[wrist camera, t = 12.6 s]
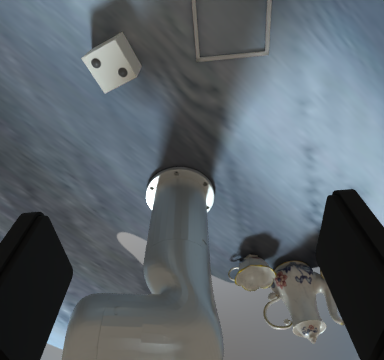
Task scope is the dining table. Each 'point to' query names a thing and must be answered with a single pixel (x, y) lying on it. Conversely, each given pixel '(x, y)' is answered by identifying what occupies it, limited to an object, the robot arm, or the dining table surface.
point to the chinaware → (290, 292)
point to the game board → (232, 56)
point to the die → (112, 63)
